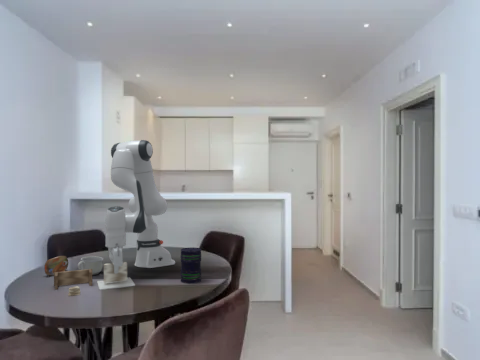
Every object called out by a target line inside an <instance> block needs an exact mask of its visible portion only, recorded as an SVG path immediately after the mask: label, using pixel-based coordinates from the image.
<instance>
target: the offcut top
mask: <svg viewBox="0 0 480 360" xmlns="http://www.w3.org/2000/svg"><path fill="white" fill-rule="evenodd" d="M78 290H80V291H81V287H80V286H78V285H76V286H71V287H69V288H68V292H69V291H70V292H74V291H78Z"/></svg>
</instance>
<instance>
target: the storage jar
mask: <svg viewBox="0 0 480 360" xmlns="http://www.w3.org/2000/svg"><path fill="white" fill-rule="evenodd" d="M201 262H202V249H201V248H200V247H184V248H181V249H180V263H181V264H180V275H179V276H180V283H183V284H197V283H198V284H199V283H200V282H201V281H202V269H201V268H202V267H201V265H202V263H201Z"/></svg>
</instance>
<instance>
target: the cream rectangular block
mask: <svg viewBox="0 0 480 360" xmlns="http://www.w3.org/2000/svg"><path fill="white" fill-rule="evenodd" d="M127 278H128V262H127V261H123V264H122V266H119V269H118V273H117V274H115V273H114V265H113V263H112V262H109V263H103V280H104V283H106V282H115V281H124V280H127Z"/></svg>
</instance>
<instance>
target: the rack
mask: <svg viewBox="0 0 480 360" xmlns="http://www.w3.org/2000/svg"><path fill="white" fill-rule="evenodd" d="M78 284H88V285H89V287H92V286H93V275H92V269H86V270H79V269H78V270H77V269H76V270H66V271H64V272H54V276H53V287H54V291H55V290H56V291H57V290H58V288H59V287H60V286H61V287H62V286H71V285H78Z"/></svg>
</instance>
